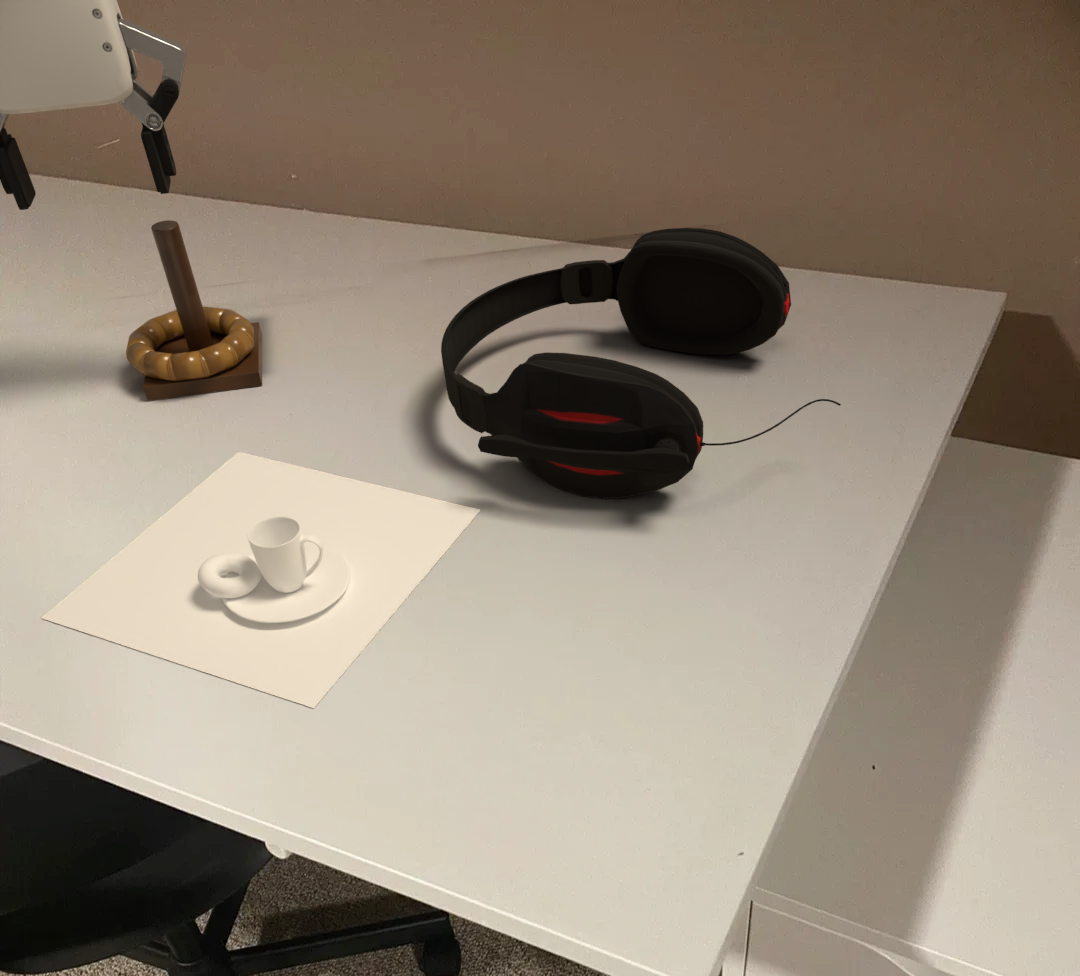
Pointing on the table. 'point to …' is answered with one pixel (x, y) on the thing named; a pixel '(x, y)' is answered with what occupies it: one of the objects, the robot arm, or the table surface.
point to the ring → (193, 362)
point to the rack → (195, 326)
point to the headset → (610, 386)
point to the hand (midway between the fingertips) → (97, 195)
